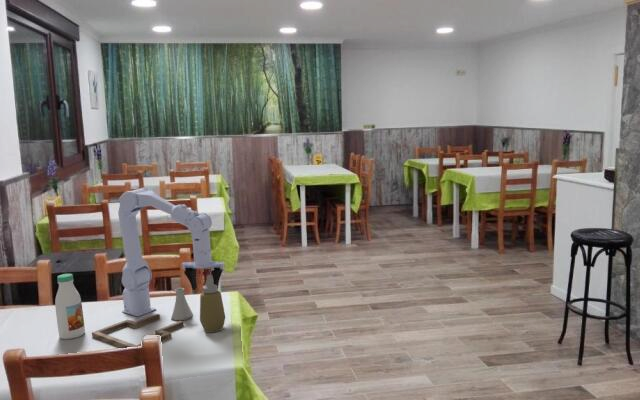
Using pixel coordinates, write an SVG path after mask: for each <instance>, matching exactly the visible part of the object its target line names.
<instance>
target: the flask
mask: <svg viewBox="0 0 640 400" xmlns="http://www.w3.org/2000/svg"><path fill="white" fill-rule="evenodd" d="M174 289H175V290H174V292H175V295H176V296H175V304H174V307H173V311H172V314H171V318H170V319H171V320H173V321H186V320H188V319H191V318H192V317H193V314H194V313H193V312H192V311H193V310H191V307H190V306H189V303H188V302H187V299H186V297H185V288H183V287H177V288H174Z"/></svg>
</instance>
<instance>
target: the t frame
mask: <svg viewBox="0 0 640 400" xmlns="http://www.w3.org/2000/svg"><path fill="white" fill-rule="evenodd" d="M160 319H161V315H160V314H159V313H155V314H153V315H151V316H148V317H145V318H142V319H139V320H137V321H134V320H130V319H125V320H122V321H119V322H118V323H114V324H112V325H108V326H107V327H103V328H101V329H98V330H96V331H92V332H91V337H92V338H93V339H97V340H99V341H101V342H105V343H108V344H110V345H113V346H115V347H118V348H120V349H123V348H127V347H138V346H141V343H139V344H137V345H136V344H134V343H131V342H128V341H125V340H123V339H119V338H117V337H114V336H111V335H109V334H110V333H112V332H114V331H119V330H120V329H122V328H125V327H129V328H131V329H138V328H140V327H143V326H145V325H148V324H151V323H153V322H156V321H158V320H160ZM184 326H185V323H184V320H177V322H174V323H172V324H168V325H167V326H164V327H162V328H159V329H156V330H154V332H155V336H156V335H160V336H161V342H160V343H162V342H165V341H167V340H170V339H171V338H172V332H173V331H175V330H177V329H180V328H182V327H184Z"/></svg>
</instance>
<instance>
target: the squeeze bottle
mask: <svg viewBox="0 0 640 400" xmlns="http://www.w3.org/2000/svg"><path fill="white" fill-rule="evenodd" d="M199 300H200V301H199V322H200V324H201V326H202V329H203V330H204V332H206V333H217V332H219V331H222V329H223V328H224V324H225V320H226V313H225V307H224V304H223V298H222V292H220V291H219V286H218V287H217V285H216V284H214V283H213V277H212V274H207V275H206V281H205V285H203V286H202V293H201V294H200V298H199Z"/></svg>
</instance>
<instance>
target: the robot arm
mask: <svg viewBox="0 0 640 400" xmlns="http://www.w3.org/2000/svg"><path fill="white" fill-rule="evenodd" d="M118 202H119V208H118V219H119V224H120V232H121V237H122V238H121V239H122V245H123V249H124V255H125V261H126V262H125V264H124V266H123V268H122V270H121V271H122V277H121V285H122V286H123V287H124V289H123V291H122V302H123V303H122V304H123V310H121V312H123V313H124V314H125V313H126V314H128V315H130V316H131V315H132V316H135V317H139V316H142V315H143V316H144V315H145V314H148V313H151V312H153V311H157V307H154V306H151V296H150V286H149V285H150V281H151V280H152V278H153V274H152V270H151V269H150V267H149V263H148V262H147V261H146V260H145V259H144V258H143V254H142V253H143V252H142V245H141V240H140V235H139V228H138V222H137V215H138V213H139V212H140V211H141V210H142V209H144V208H146V207H152V208H155V209H157V210H159V211H162V212H163V213H166V214H168V215H170V218H171V219H172V221H175V222H176V223H179V224H181V225H183V226H185V227H186V228H187V229H188V231H189V232H190V236H191V238H192V248H193V251H192V252H193V260H194V261H186V262H185V261H183V262H182V263H181V268H182V270H184V272H183V273H184V275H185V277H186V278H187V279H188V281H189V283H190V286H191V289H192V291H196V290H197V288H198V284H197V269H198V270H208V269H209V270H211V271H210V273H211V277H212V280H213V283H214V284H216V285H217V287H218V288H219V285H220V284H219V283H220V279H221V276H222V273H223V270H224V269H225V268H226V262H223V261H214V260H212V259H213V258H212V249H211V247H212V246H211V238H210V237H211V236H210V235H211V234H210V228H211V227H212V223H213V222H212V218H211V217H210V216H209V215H208V214H207V213H206V212H205V213H204V212H202V213H199V212H198V211H197V210H195V211H194V210H192V209H191V208H189V207H187V205H186V204H184V203H182V204H177V205H175V204H174V203H172V202H169V201H168V200H167V199H165V198H162V196H159V195H157V194H156V193H155V192H154V191H153V190H152V189H148V188H146V187H141V188H137V189H134V190H126V191H124V192H123V193H122V194H121V195H120V197H119V198H118Z"/></svg>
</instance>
